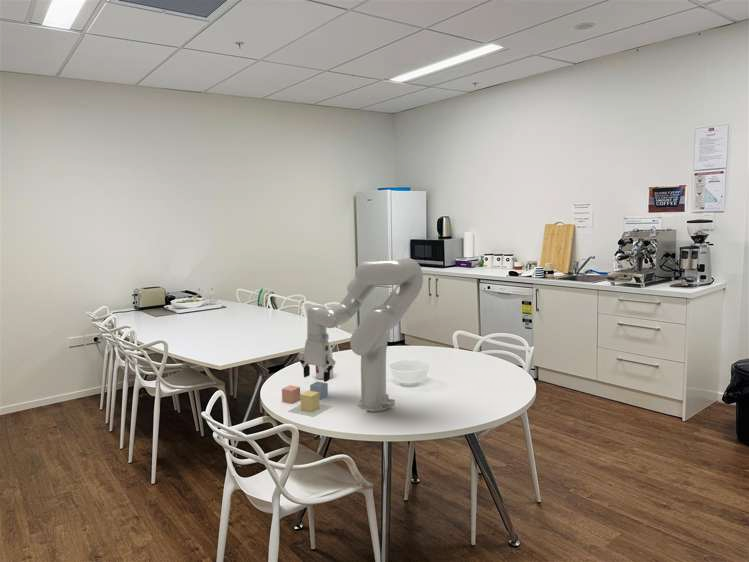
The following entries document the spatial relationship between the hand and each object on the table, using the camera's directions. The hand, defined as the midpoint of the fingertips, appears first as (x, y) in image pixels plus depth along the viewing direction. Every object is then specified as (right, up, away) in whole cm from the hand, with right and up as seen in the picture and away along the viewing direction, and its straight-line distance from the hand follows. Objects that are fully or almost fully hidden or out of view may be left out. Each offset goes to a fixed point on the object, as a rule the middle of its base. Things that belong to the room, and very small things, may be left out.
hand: (316, 378), depth 218 cm
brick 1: (-9, -9, -4) cm, 14 cm away
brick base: (-1, -9, -13) cm, 16 cm away
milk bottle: (+1, -5, +28) cm, 29 cm away
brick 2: (+1, -8, +1) cm, 8 cm away
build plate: (-1, -10, -13) cm, 16 cm away
